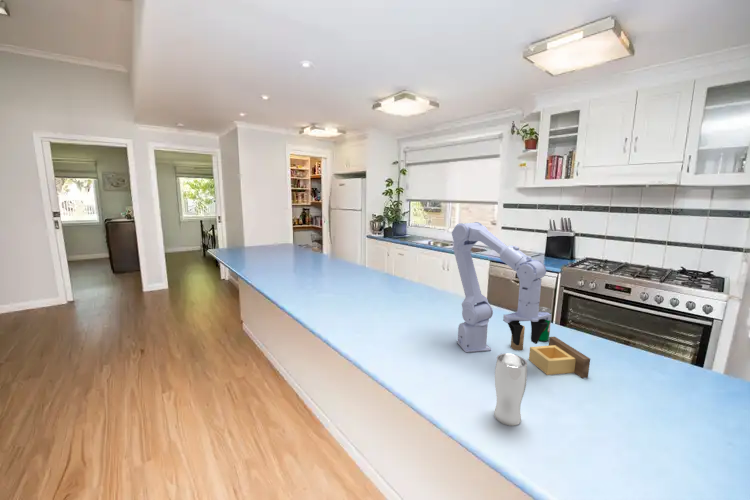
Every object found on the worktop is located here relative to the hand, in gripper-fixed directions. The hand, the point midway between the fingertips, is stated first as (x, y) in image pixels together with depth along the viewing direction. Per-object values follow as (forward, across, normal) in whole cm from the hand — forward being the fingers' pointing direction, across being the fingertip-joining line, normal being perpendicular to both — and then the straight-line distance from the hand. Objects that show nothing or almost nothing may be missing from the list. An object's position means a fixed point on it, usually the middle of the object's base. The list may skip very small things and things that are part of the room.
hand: (525, 343), depth 99 cm
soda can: (+9, +19, +18) cm, 28 cm away
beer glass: (+9, -17, -20) cm, 28 cm away
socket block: (+8, +10, 0) cm, 13 cm away
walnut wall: (+8, +15, 0) cm, 17 cm away
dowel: (+8, +6, +13) cm, 17 cm away
